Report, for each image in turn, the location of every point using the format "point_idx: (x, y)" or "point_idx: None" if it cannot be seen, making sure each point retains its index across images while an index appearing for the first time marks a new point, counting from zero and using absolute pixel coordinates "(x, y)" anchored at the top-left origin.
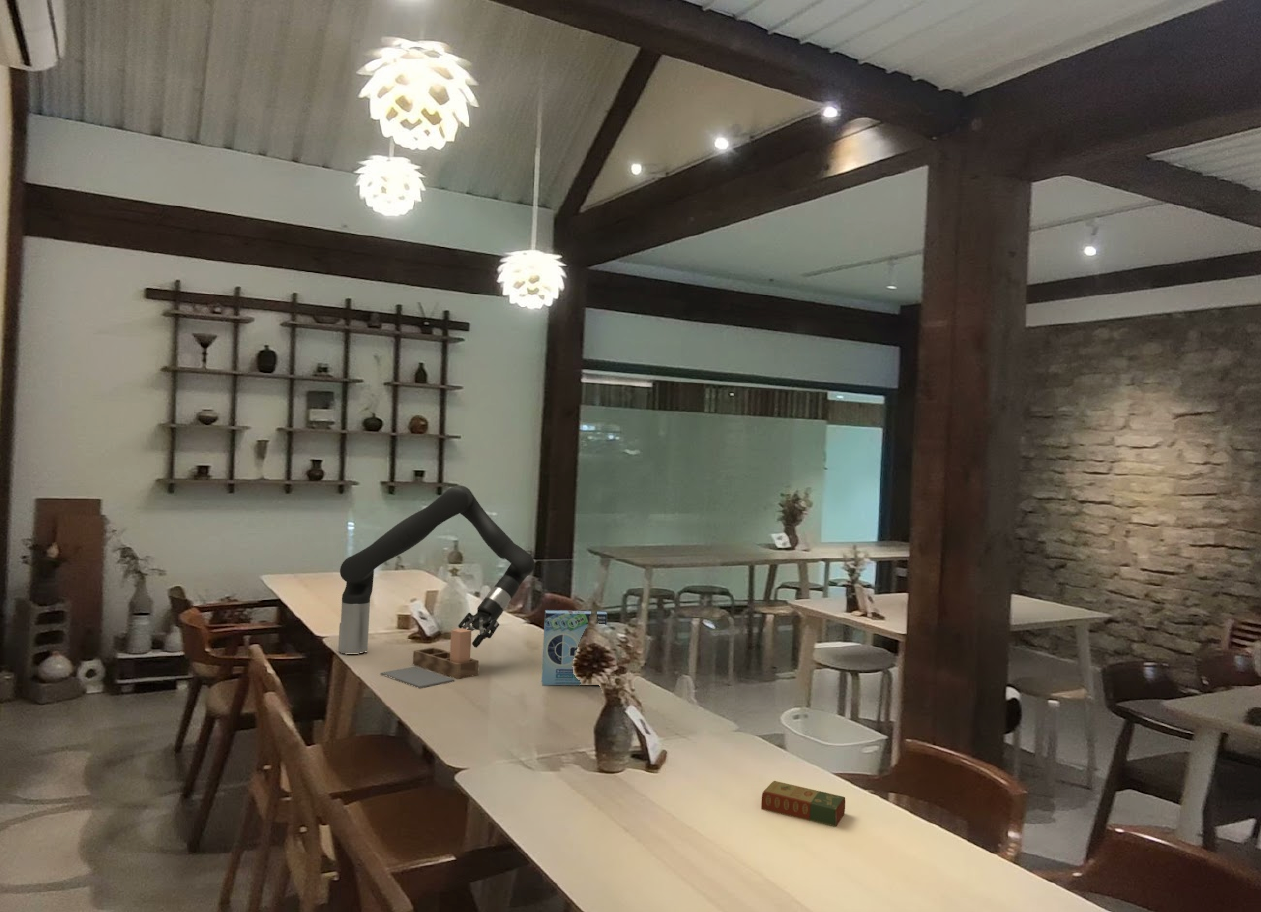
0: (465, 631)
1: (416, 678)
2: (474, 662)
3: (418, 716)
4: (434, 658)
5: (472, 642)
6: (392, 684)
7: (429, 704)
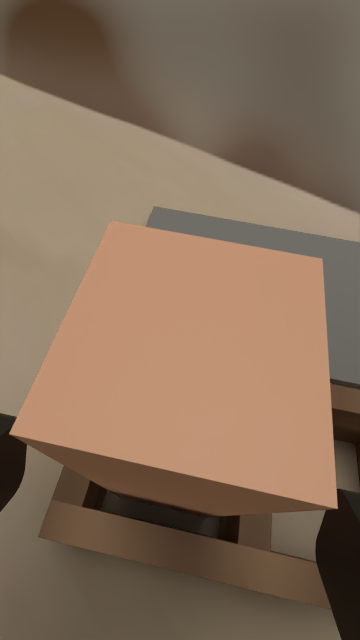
0: (80, 304)
1: None
2: (59, 486)
3: (11, 93)
4: (340, 388)
5: (14, 418)
6: (253, 203)
7: (33, 141)
